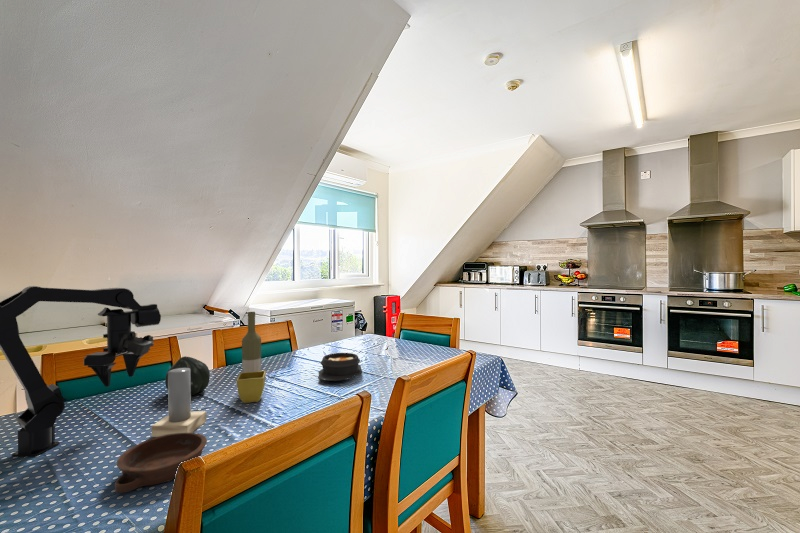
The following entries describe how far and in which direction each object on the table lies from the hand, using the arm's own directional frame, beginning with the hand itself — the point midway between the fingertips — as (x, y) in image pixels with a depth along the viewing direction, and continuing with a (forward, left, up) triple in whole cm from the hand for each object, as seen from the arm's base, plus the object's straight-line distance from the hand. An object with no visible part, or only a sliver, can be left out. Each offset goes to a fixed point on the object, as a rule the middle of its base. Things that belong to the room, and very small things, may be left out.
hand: (119, 381), depth 109 cm
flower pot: (+19, -32, -13) cm, 39 cm away
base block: (-3, -20, -13) cm, 24 cm away
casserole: (+47, -59, -13) cm, 77 cm away
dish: (-24, -29, -14) cm, 40 cm away
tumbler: (-3, -20, -10) cm, 22 cm away
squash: (+27, -5, -13) cm, 31 cm away
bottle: (+29, -28, -13) cm, 42 cm away
